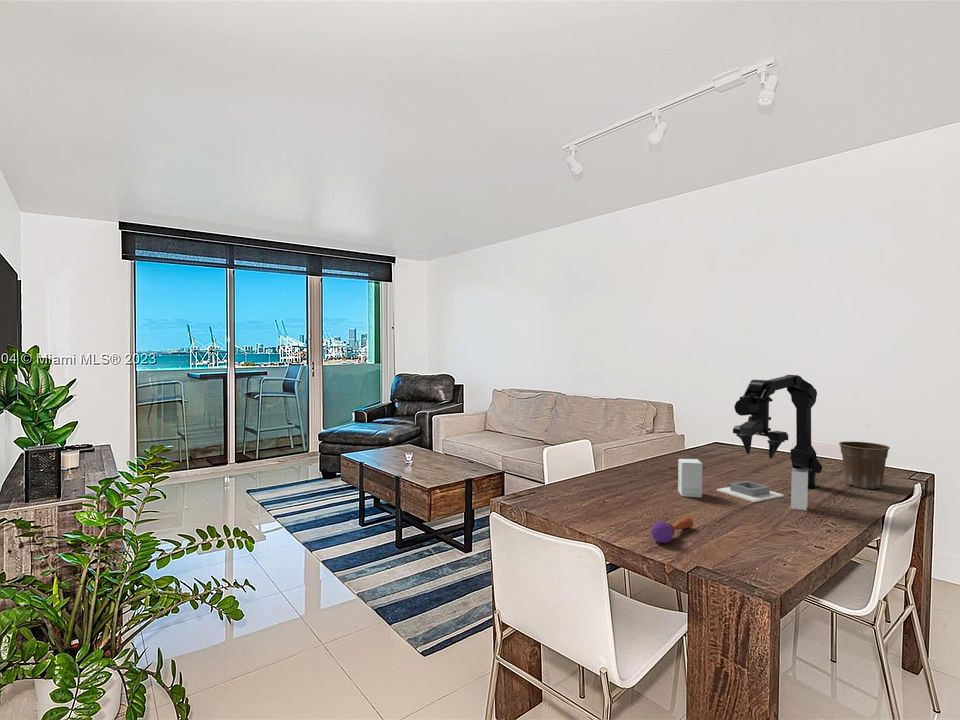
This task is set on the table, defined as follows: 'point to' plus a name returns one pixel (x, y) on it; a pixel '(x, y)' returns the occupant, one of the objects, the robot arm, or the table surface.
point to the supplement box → (690, 477)
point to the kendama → (669, 529)
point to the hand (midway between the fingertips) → (759, 456)
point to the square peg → (799, 489)
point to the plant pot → (864, 464)
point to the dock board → (750, 491)
